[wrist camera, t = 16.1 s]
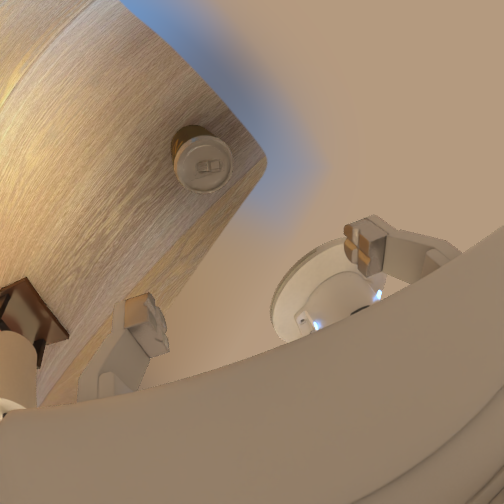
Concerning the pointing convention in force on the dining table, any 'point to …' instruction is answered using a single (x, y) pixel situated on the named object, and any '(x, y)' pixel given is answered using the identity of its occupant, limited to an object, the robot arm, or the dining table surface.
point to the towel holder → (16, 371)
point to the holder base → (30, 316)
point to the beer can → (200, 160)
